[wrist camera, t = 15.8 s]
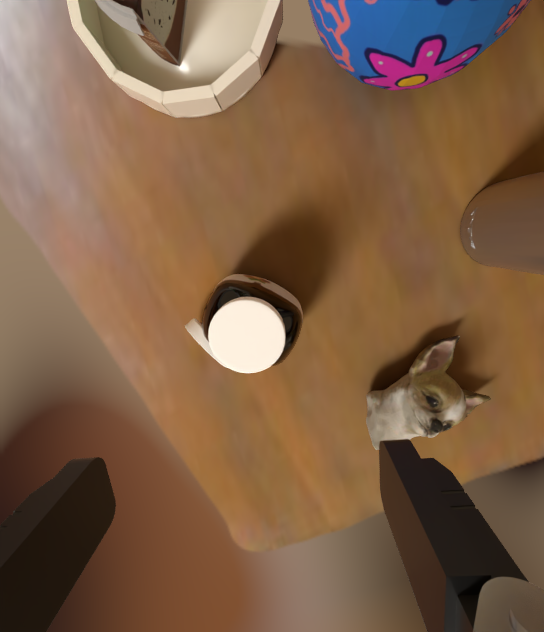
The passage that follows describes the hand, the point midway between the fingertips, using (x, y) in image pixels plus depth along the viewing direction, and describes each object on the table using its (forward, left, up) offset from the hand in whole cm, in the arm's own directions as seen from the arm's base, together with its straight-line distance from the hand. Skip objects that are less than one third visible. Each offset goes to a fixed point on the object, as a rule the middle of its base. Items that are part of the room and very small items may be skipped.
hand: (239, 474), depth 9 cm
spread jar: (+4, +3, -30) cm, 31 cm away
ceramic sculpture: (-16, +14, -30) cm, 37 cm away
